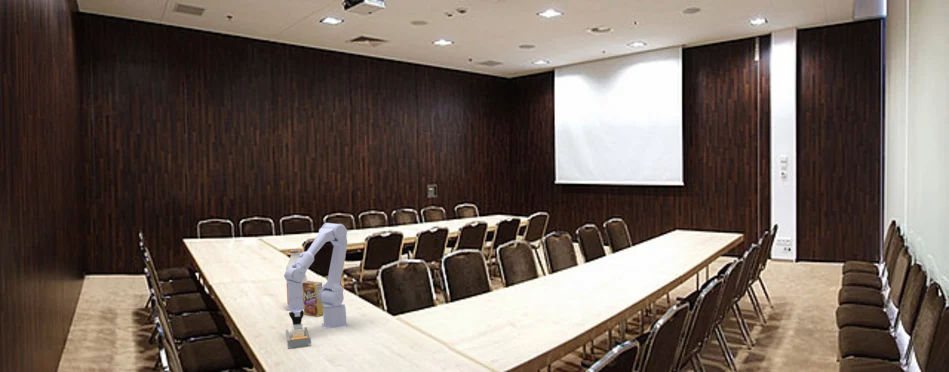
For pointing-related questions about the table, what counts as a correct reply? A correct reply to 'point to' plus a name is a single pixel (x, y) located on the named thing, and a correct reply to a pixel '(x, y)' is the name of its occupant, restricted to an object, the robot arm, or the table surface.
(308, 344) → the gray u-shaped frame
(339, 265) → the robot arm
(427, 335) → the table surface
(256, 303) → the table surface
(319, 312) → the candy box
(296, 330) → the module
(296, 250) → the fruit juice
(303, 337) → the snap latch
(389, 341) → the table surface
